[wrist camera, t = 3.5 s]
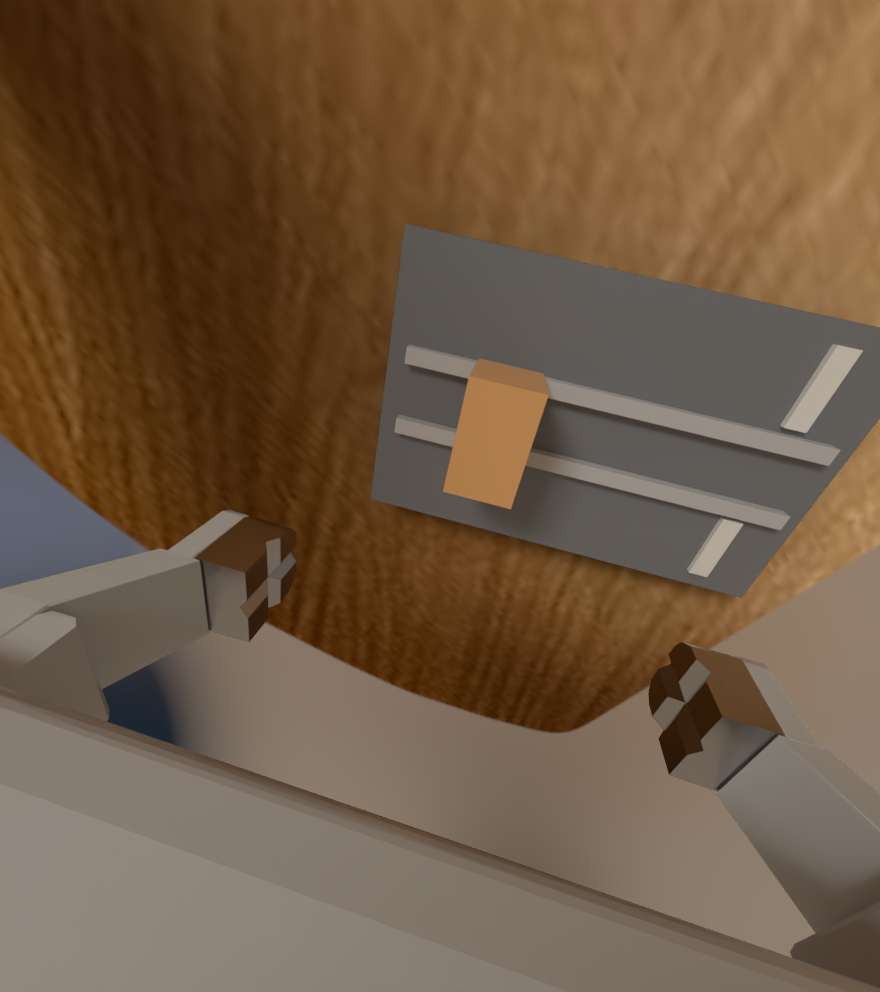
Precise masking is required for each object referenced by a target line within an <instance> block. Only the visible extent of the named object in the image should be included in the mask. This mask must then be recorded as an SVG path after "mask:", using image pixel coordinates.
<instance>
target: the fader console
mask: <svg viewBox="0 0 880 992" xmlns="http://www.w3.org/2000/svg"><path fill="white" fill-rule="evenodd" d="M479 358H481V359H485V360H489V361H493V362H497V363H501V364H506V365H510V366H514V367H518V368H522V369H527V370H531V371H535V372H539V373H543V374H544V377H545V381H546V386H547V390H548V394H549V396H548V399H547V402H546V405H545V408H544V411H543V414H542V417H541V420H540V423H539V426H538V429H537V432H536V435H535V438H534V441H533V444H532V447H531V450H530V453H529V456H528V459H527V462H526V465H525V468H524V471H523V474H522V477H521V480H520V483H519V486H518V489H517V492H516V495H515V498H514V501H513V504H512V507H511V509H507V508H504V507H500V506H496V505H492V504H488V503H485V502H481V501H477V500H473V499H469V498H465V497H462V496H458V495H454V494H450V493H446V492H443V488H444V484H445V480H446V475H447V471H448V466H449V462H450V458H451V453H452V449H453V444H454V440H455V436H456V431H457V427H458V422H459V418H460V414H461V409H462V405H463V400H464V396H465V391H466V387H467V383H468V378H469V375H470V373H471V372H472V370H473V368H474V366H475V365H476V363H477V361H478V360H479ZM879 418H880V328H879V327H875V326H870V325H866V324H861V323H856V322H852V321H847V320H843V319H838V318H834V317H829V316H824V315H820V314H815V313H811V312H806V311H802V310H797V309H792V308H788V307H783V306H779V305H774V304H770V303H765V302H760V301H756V300H751V299H747V298H742V297H738V296H733V295H728V294H724V293H719V292H715V291H710V290H706V289H701V288H697V287H692V286H687V285H683V284H678V283H674V282H669V281H665V280H660V279H655V278H651V277H646V276H642V275H637V274H633V273H628V272H623V271H619V270H614V269H610V268H605V267H601V266H596V265H591V264H587V263H582V262H578V261H573V260H569V259H564V258H559V257H555V256H550V255H546V254H541V253H537V252H532V251H528V250H523V249H518V248H514V247H509V246H505V245H500V244H496V243H491V242H486V241H482V240H477V239H473V238H468V237H464V236H459V235H454V234H450V233H445V232H441V231H436V230H432V229H427V228H422V227H418V226H413V225H409V224H405V226H404V234H403V242H402V250H401V258H400V266H399V274H398V282H397V290H396V298H395V306H394V314H393V322H392V330H391V338H390V346H389V354H388V362H387V370H386V378H385V386H384V394H383V402H382V410H381V418H380V426H379V434H378V442H377V450H376V458H375V467H374V475H373V483H372V491H371V499H372V500H376V501H380V502H384V503H387V504H391V505H395V506H399V507H402V508H406V509H410V510H414V511H417V512H421V513H425V514H429V515H432V516H436V517H440V518H444V519H447V520H451V521H455V522H459V523H462V524H466V525H470V526H474V527H477V528H481V529H485V530H489V531H492V532H496V533H500V534H504V535H507V536H511V537H515V538H519V539H523V540H526V541H530V542H534V543H538V544H541V545H545V546H549V547H553V548H556V549H560V550H564V551H568V552H571V553H575V554H579V555H583V556H586V557H590V558H594V559H598V560H601V561H605V562H609V563H613V564H616V565H620V566H624V567H628V568H631V569H635V570H639V571H643V572H646V573H650V574H654V575H658V576H661V577H665V578H669V579H673V580H676V581H680V582H684V583H688V584H691V585H695V586H699V587H703V588H706V589H710V590H714V591H718V592H721V593H725V594H729V595H733V596H736V597H740V598H741V597H742V596H743V595H744V594H745V592H746V591H747V590H748V588H749V587H750V586H751V584H752V583H753V582H754V581H755V579H756V578H757V577H758V575H759V574H760V573H761V571H762V570H763V569H764V568H765V566H766V565H767V564H768V562H769V561H770V560H771V558H772V557H773V556H774V555H775V553H776V552H777V551H778V549H779V548H780V547H781V545H782V544H783V543H784V542H785V540H786V539H787V538H788V536H789V535H790V534H791V533H792V531H793V530H794V529H795V527H796V526H797V525H798V523H799V522H800V521H801V520H802V518H803V517H804V516H805V514H806V513H807V512H808V510H809V509H810V508H811V507H812V505H813V504H814V503H815V501H816V500H817V499H818V497H819V496H820V495H821V494H822V492H823V491H824V490H825V488H826V487H827V486H828V484H829V483H830V482H831V481H832V479H833V478H834V477H835V475H836V474H837V473H838V472H839V470H840V469H841V468H842V466H843V465H844V464H845V462H846V461H847V460H848V459H849V457H850V456H851V455H852V453H853V452H854V451H855V449H856V448H857V447H858V446H859V444H860V443H861V442H862V440H863V439H864V438H865V436H866V435H867V434H868V433H869V431H870V430H871V429H872V427H873V426H874V425H875V423H876V422H877V421H878V420H879Z"/></svg>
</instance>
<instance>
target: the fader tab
mask: <svg viewBox="0 0 880 992" xmlns="http://www.w3.org/2000/svg"><path fill="white" fill-rule="evenodd" d="M548 396H549V394H548V390H547V386H546V381H545V377H544V374H543V373H539V372H535V371H531V370H527V369H522V368H518V367H514V366H510V365H506V364H501V363H497V362H493V361H489V360H485V359H481V358H479V360H478V361H477V363H476V365H475V366H474V368H473V370H472V372H471V373H470V375H469V378H468V383H467V387H466V391H465V396H464V400H463V405H462V409H461V414H460V418H459V422H458V427H457V431H456V436H455V440H454V444H453V449H452V453H451V458H450V462H449V466H448V471H447V475H446V480H445V484H444V488H443V492H446V493H450V494H454V495H458V496H462V497H465V498H469V499H473V500H477V501H481V502H485V503H488V504H492V505H496V506H500V507H504V508H507V509H511V507H512V504H513V501H514V498H515V495H516V492H517V489H518V486H519V483H520V480H521V477H522V474H523V471H524V468H525V465H526V462H527V459H528V456H529V453H530V450H531V447H532V444H533V441H534V438H535V435H536V432H537V429H538V426H539V423H540V420H541V417H542V414H543V411H544V408H545V405H546V402H547V399H548Z"/></svg>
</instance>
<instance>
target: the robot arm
mask: <svg viewBox="0 0 880 992" xmlns="http://www.w3.org/2000/svg"><path fill="white" fill-rule="evenodd" d="M296 546H297V541H296V532H295V531H294V530H293V529H291V528H287V527H284V526H281V525H278V524H275V523H272V522H268V521H265V520H262V519H259V518H256V517H252V516H248V515H245V514H242V513H238V512H235V511H232V510H225V511H222V512H220V513H219V514H217V515H216V516H215V517H213V518H212V519H211V520H209V521H208V522H206V523H205V524H204V525H202V526H201V527H199V528H198V529H197V530H195V531H194V532H193V533H191V534H190V535H188V536H187V537H186V538H184V539H183V540H181V541H180V542H179V543H177V544H176V545H174V546H173V547H172V548H170V549H169V550H168V551H167V550H164V549H156V550H152V551H148V552H145V553H141V554H137V555H133V556H129V557H125V558H121V559H117V560H113V561H109V562H105V563H101V564H97V565H93V566H89V567H86V568H82V569H78V570H74V571H70V572H66V573H62V574H58V575H54V576H50V577H46V578H42V579H38V580H34V581H31V582H26V583H22V584H18V585H15V586H11V587H7V588H3V589H0V992H880V794H879V793H878V792H876V791H875V790H874V789H873V788H872V787H870V785H868V784H867V783H866V782H865V781H864V780H863V779H862V778H860V777H859V776H858V775H857V774H856V773H855V772H854V771H852V770H851V769H850V768H849V767H848V766H847V765H846V764H844V763H843V762H842V761H841V760H840V759H839V758H837V757H836V756H835V755H834V754H833V753H832V752H831V751H829V750H826V749H823V748H820V746H819V745H818V743H817V742H816V740H815V739H814V737H813V736H812V734H811V732H810V731H809V729H808V728H807V726H806V724H805V723H804V721H803V720H802V718H801V716H800V715H799V713H798V712H797V710H796V709H795V707H794V705H793V704H792V703H791V701H790V699H789V697H788V696H787V694H786V693H785V691H784V690H783V688H782V686H781V685H780V683H779V682H778V680H777V678H776V677H775V675H774V674H773V672H772V671H771V670H770V669H769V668H768V667H766V666H765V665H764V664H762V663H758V662H754V661H750V660H747V659H743V658H739V657H733V656H730V655H726V654H723V653H719V652H715V651H712V650H709V649H705V648H702V647H698V646H695V645H691V644H688V643H684V642H681V643H679V644H677V645H676V646H674V648H673V649H672V651H671V652H670V653H669V657H670V661H671V664H669V665H667V666H664V667H662V668H659V669H658V670H657V672H656V673H655V675H654V676H653V678H652V680H651V684H650V689H649V705H650V709H651V713H652V717H653V718H654V719H655V720H656V721H657V723H658V724H659V725H660V726H661V727H662V729H663V732H662V734H661V736H660V738H659V741H660V745H661V748H662V752H663V755H664V759H665V762H666V765H667V769H668V773H669V775H671V776H674V777H677V778H680V779H683V780H686V781H689V782H691V783H694V784H697V785H700V786H703V787H706V788H709V789H711V790H714V791H717V793H716V794H717V796H718V797H719V798H720V800H721V801H722V803H723V804H724V805H725V807H726V808H727V810H728V811H729V812H730V814H731V815H732V817H733V818H734V819H735V821H736V822H737V823H738V825H739V826H740V828H741V829H742V831H743V832H744V833H745V835H746V836H747V837H748V839H749V841H750V842H751V843H752V845H753V846H754V848H755V849H756V850H757V852H758V853H759V855H760V856H761V857H762V859H763V860H764V861H765V863H766V864H767V866H768V867H769V869H770V870H771V871H772V873H773V874H774V876H775V877H776V878H777V879H778V881H779V883H780V884H781V885H782V887H783V888H784V890H785V891H786V892H787V894H788V895H789V897H790V898H791V899H792V901H793V902H794V904H795V905H796V906H797V908H798V909H799V911H800V912H801V913H802V915H803V916H804V917H805V919H806V920H807V922H808V923H809V925H810V926H811V927H812V929H813V930H814V932H815V933H816V934H814V935H812V936H810V937H808V938H806V939H804V940H801V941H799V942H798V943H795V944H794V946H793V948H792V949H791V951H790V953H791V956H792V958H791V957H788V956H785V955H782V954H779V953H776V952H774V951H771V950H767V949H765V948H762V947H759V946H756V945H753V944H750V943H747V942H745V941H742V940H739V939H736V938H733V937H730V936H727V935H724V934H721V933H718V932H716V931H713V930H710V929H706V928H704V927H701V926H698V925H695V924H692V923H689V922H687V921H684V920H681V919H678V918H675V917H672V916H669V915H666V914H663V913H660V912H658V911H655V910H652V909H649V908H646V907H643V906H640V905H637V904H634V903H631V902H629V901H625V900H623V899H620V898H617V897H614V896H611V895H608V894H605V893H603V892H599V891H597V890H594V889H591V888H588V887H585V886H582V885H579V884H576V883H574V882H571V881H568V880H565V879H562V878H559V877H556V876H553V875H550V874H547V873H545V872H542V871H539V870H536V869H533V868H530V867H527V866H524V865H521V864H518V863H515V862H513V861H509V860H507V859H504V858H501V857H498V856H495V855H492V854H489V853H487V852H483V851H481V850H478V849H475V848H472V847H469V846H466V845H463V844H460V843H457V842H455V841H452V840H449V839H446V838H443V837H440V836H437V835H434V834H431V833H428V832H425V831H423V830H420V829H417V828H413V827H411V826H408V825H405V824H402V823H399V822H396V821H393V820H390V819H388V818H385V817H382V816H379V815H376V814H373V813H370V812H367V811H364V810H361V809H359V808H356V807H353V806H350V805H347V804H344V803H341V802H338V801H335V800H332V799H329V798H327V797H323V796H321V795H318V794H315V793H312V792H309V791H306V790H303V789H300V788H297V787H294V786H292V785H289V784H286V783H283V782H280V781H277V780H274V779H271V778H268V777H266V776H262V775H260V774H257V773H254V772H251V771H248V770H245V769H242V768H239V767H236V766H233V765H231V764H228V763H225V762H222V761H219V760H216V759H213V758H210V757H207V756H204V755H201V754H199V753H196V752H193V751H190V750H187V749H184V748H181V747H178V746H175V745H172V744H170V743H167V742H163V741H161V740H158V739H155V738H152V737H149V736H146V735H143V734H140V733H138V732H134V731H132V730H129V729H126V728H123V727H120V726H117V725H114V724H111V723H108V722H106V721H107V720H108V718H109V709H108V706H107V703H106V700H105V697H104V695H103V692H102V689H103V688H105V687H107V686H108V685H111V684H112V683H114V682H116V681H118V680H120V679H122V678H124V677H126V676H128V675H130V674H131V673H134V672H135V671H137V670H139V669H141V668H143V667H145V666H147V665H149V664H151V663H153V662H155V661H157V660H158V659H160V658H162V657H164V656H166V655H168V654H170V653H172V652H174V651H176V650H178V649H179V648H181V647H183V646H185V645H187V644H189V643H191V642H193V641H195V640H197V639H199V638H200V637H202V636H204V635H206V634H208V633H209V631H213V632H216V633H220V634H223V635H226V636H230V637H233V638H237V639H241V640H244V641H248V642H250V640H251V639H252V638H253V637H254V635H255V634H256V633H257V632H258V630H259V629H260V628H261V627H262V625H263V624H264V623H265V622H266V620H267V619H268V608H269V607H272V606H274V605H276V604H279V603H281V601H282V600H283V599H284V597H285V596H286V595H287V593H288V592H289V589H290V587H291V585H292V583H293V581H294V577H295V572H296V561H295V559H294V557H293V556H292V554H291V553H290V552H291V551H292V550H293V549H294V548H295V547H296Z"/></svg>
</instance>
